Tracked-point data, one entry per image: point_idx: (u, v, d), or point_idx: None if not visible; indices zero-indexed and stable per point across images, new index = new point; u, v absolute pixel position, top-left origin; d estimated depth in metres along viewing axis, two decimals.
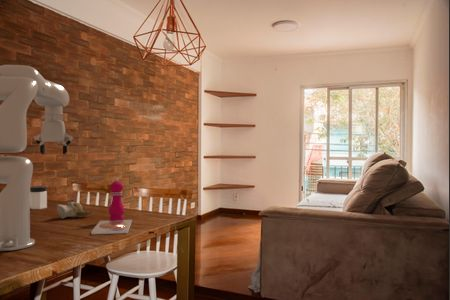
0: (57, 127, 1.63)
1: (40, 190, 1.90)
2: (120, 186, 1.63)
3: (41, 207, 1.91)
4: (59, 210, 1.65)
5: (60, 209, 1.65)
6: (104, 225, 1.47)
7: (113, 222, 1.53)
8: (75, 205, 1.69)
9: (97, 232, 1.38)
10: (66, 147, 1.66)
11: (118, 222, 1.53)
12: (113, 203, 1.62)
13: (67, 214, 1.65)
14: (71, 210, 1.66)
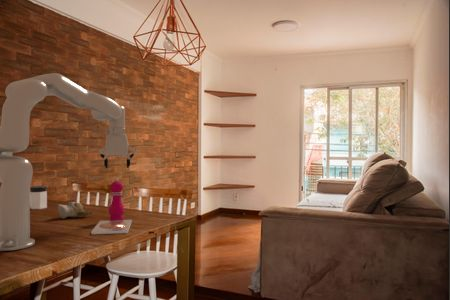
0: (121, 141, 1.62)
1: (40, 190, 1.90)
2: (120, 186, 1.63)
3: (41, 207, 1.91)
4: (60, 210, 1.65)
5: (61, 209, 1.65)
6: (104, 225, 1.47)
7: (113, 222, 1.53)
8: (76, 205, 1.69)
9: (97, 232, 1.38)
10: (129, 160, 1.65)
11: (118, 222, 1.53)
12: (113, 203, 1.62)
13: (67, 214, 1.66)
14: (72, 210, 1.67)
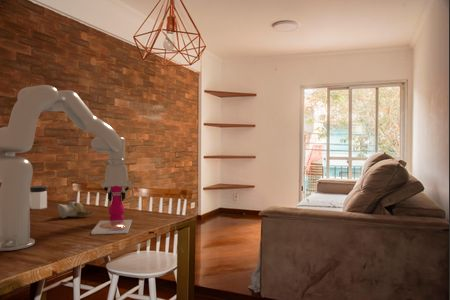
0: (121, 172, 1.62)
1: (40, 190, 1.90)
2: None
3: (41, 207, 1.91)
4: (60, 210, 1.66)
5: (61, 208, 1.66)
6: (104, 225, 1.47)
7: (113, 222, 1.53)
8: (76, 205, 1.69)
9: (97, 232, 1.38)
10: (124, 194, 1.64)
11: (118, 222, 1.53)
12: (113, 203, 1.62)
13: (67, 214, 1.66)
14: (71, 210, 1.67)
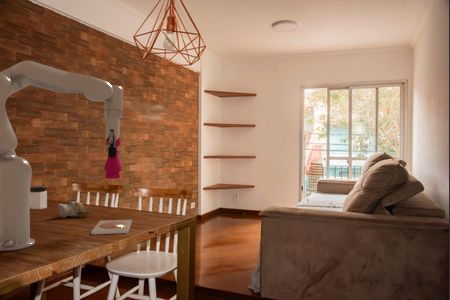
0: None
1: (40, 190, 1.90)
2: (107, 140, 1.46)
3: (41, 207, 1.91)
4: (60, 209, 1.67)
5: (61, 208, 1.67)
6: (104, 225, 1.47)
7: (113, 222, 1.53)
8: (76, 205, 1.70)
9: (97, 232, 1.38)
10: (110, 149, 1.45)
11: (118, 222, 1.53)
12: None
13: (67, 213, 1.67)
14: (71, 209, 1.68)
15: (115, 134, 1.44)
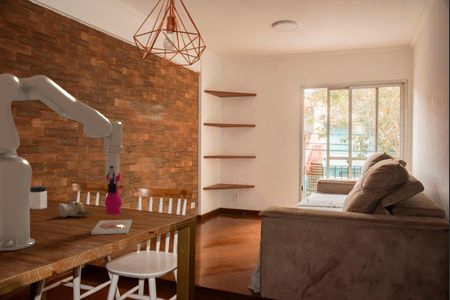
0: None
1: (40, 190, 1.90)
2: (107, 176, 1.46)
3: (41, 207, 1.91)
4: (60, 209, 1.68)
5: (61, 207, 1.67)
6: (104, 225, 1.47)
7: (113, 222, 1.53)
8: (76, 204, 1.70)
9: (97, 232, 1.38)
10: (110, 185, 1.45)
11: (118, 222, 1.53)
12: None
13: (67, 213, 1.68)
14: (71, 209, 1.68)
15: (115, 171, 1.44)
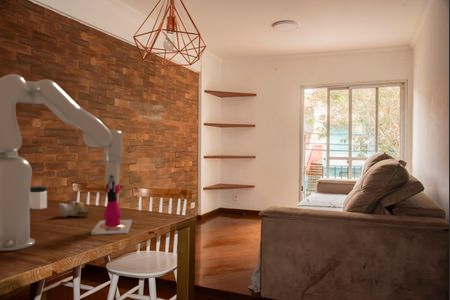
0: None
1: (40, 190, 1.90)
2: (107, 187, 1.46)
3: (41, 207, 1.91)
4: (60, 209, 1.68)
5: (61, 207, 1.68)
6: (104, 225, 1.47)
7: None
8: (76, 204, 1.71)
9: (97, 232, 1.38)
10: (110, 194, 1.44)
11: None
12: None
13: (67, 213, 1.68)
14: (71, 209, 1.69)
15: (115, 180, 1.44)
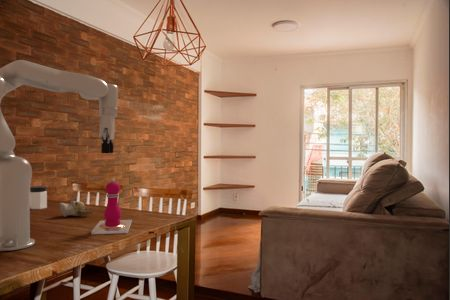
0: None
1: (40, 190, 1.90)
2: (107, 187, 1.46)
3: (41, 207, 1.91)
4: (61, 208, 1.69)
5: (62, 207, 1.69)
6: (104, 225, 1.47)
7: None
8: (76, 204, 1.71)
9: (97, 232, 1.38)
10: (103, 145, 1.42)
11: None
12: None
13: (67, 213, 1.69)
14: (72, 209, 1.70)
15: (109, 133, 1.43)
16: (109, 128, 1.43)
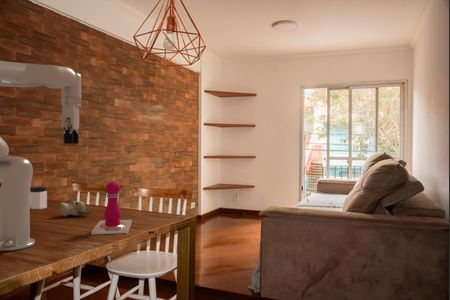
0: None
1: (40, 190, 1.90)
2: (107, 187, 1.46)
3: (41, 207, 1.91)
4: (61, 208, 1.70)
5: (62, 207, 1.70)
6: (104, 225, 1.47)
7: None
8: (77, 204, 1.72)
9: (97, 232, 1.38)
10: (66, 135, 1.37)
11: None
12: None
13: (67, 212, 1.70)
14: (72, 209, 1.70)
15: (72, 122, 1.39)
16: (72, 118, 1.39)
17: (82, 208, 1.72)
